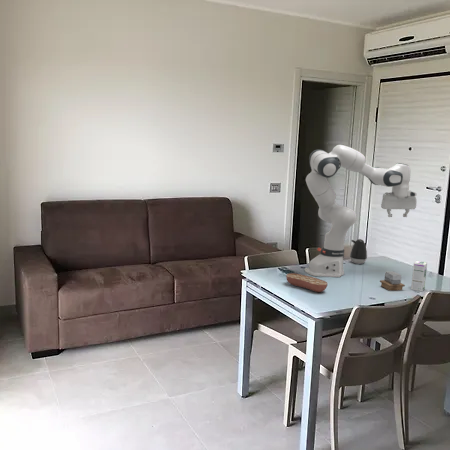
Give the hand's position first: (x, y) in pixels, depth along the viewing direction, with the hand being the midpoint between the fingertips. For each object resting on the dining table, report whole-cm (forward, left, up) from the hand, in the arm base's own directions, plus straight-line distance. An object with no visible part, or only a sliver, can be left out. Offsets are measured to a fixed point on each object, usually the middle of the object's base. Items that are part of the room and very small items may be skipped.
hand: (397, 217), depth 281 cm
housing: (-15, -23, -31) cm, 41 cm away
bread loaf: (-61, -18, -34) cm, 72 cm away
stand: (-15, -23, -34) cm, 44 cm away
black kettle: (-6, +28, -34) cm, 44 cm away
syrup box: (-1, -26, -34) cm, 43 cm away
